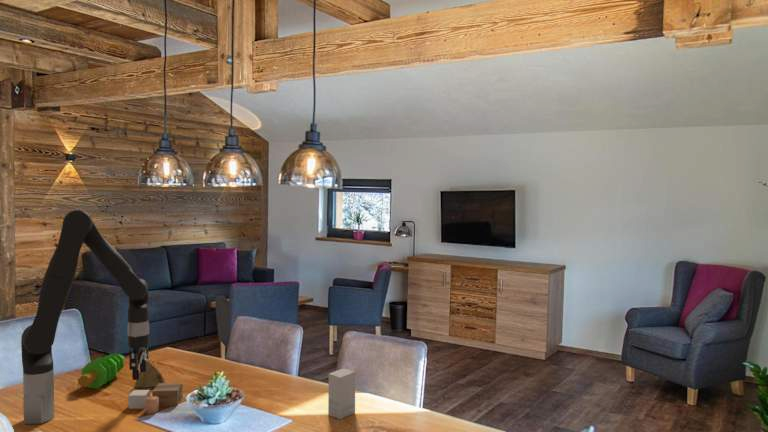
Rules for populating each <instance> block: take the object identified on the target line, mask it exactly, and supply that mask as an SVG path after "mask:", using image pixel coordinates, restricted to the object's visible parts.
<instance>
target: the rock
mask: <svg viewBox="0 0 768 432" xmlns="http://www.w3.org/2000/svg"><path fill="white" fill-rule="evenodd" d="M158 383H166V382H165V379H164V377H163V375H162V373H161V372H160V370H159V369H158V368H157V367H156V366H154V365H153V364H152V363H151V362H150V361H148V360H147V362H146V372H140V371H139V379H138V380H135V384H134V389H137V388H141V389H143V388H144V389H145V388H147V389H148V388H155V387H156V386H157V385H158Z"/></svg>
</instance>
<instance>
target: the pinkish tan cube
mask: <svg viewBox="0 0 768 432" xmlns="http://www.w3.org/2000/svg"><path fill="white" fill-rule="evenodd" d="M159 407H160V406H159V397H157V396H152V395H150V397H147V398H145V408H144V410H145V411H144V413H145V414H146V415H155V414H157V413H159V410H160V409H159Z"/></svg>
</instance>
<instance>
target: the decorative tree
mask: <svg viewBox="0 0 768 432" xmlns="http://www.w3.org/2000/svg"><path fill="white" fill-rule="evenodd" d="M124 366H125V356H124V355H122V354H119V353H110V354H108V355H105V356H104V357H98V358H96V359H93V360H92V361H91V362H88V363H87V364H86V365H84V366H83V368H82V369H81V376H80V377H79V378H77V384H78V385H79V386H80V387H83V388H87V387H88V388H89V389H100V388H101V387H102V386H103V385H106V384H107V383H111V381H113V379H114V378H115V377H117V375H118V373H120V371H121V370H122V369H124Z"/></svg>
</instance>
